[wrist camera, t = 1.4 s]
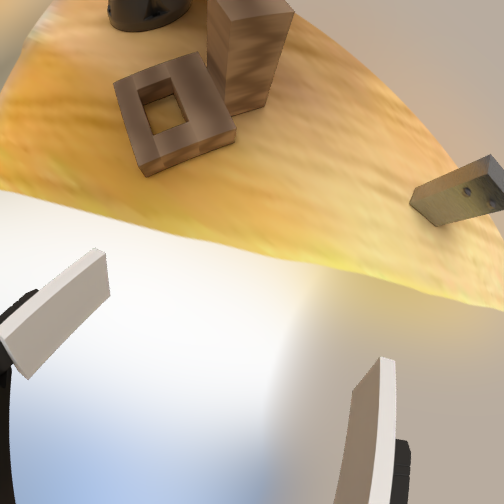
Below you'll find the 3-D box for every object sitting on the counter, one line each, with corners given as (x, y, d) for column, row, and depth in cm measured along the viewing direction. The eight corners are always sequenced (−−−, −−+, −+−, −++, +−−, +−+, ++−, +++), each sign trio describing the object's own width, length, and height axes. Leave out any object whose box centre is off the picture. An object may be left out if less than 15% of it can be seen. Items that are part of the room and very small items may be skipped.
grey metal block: (435, 228, 39) (514, 209, 24) (408, 205, 39) (487, 175, 23) (441, 209, 40) (517, 185, 24) (416, 186, 40) (490, 152, 24)
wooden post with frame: (146, 177, 35) (96, 102, 17) (120, 98, 35) (79, 11, 18) (276, 128, 38) (316, 38, 20) (237, 57, 38) (250, -36, 20)
